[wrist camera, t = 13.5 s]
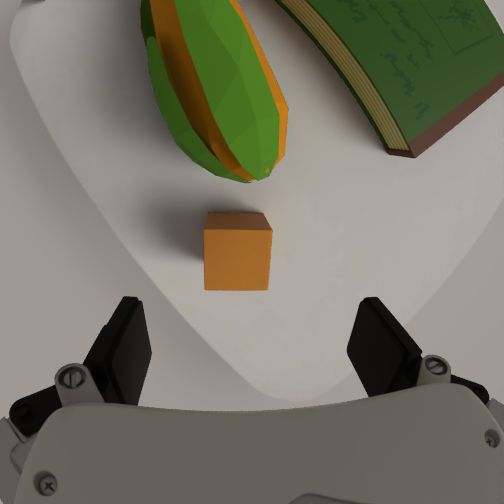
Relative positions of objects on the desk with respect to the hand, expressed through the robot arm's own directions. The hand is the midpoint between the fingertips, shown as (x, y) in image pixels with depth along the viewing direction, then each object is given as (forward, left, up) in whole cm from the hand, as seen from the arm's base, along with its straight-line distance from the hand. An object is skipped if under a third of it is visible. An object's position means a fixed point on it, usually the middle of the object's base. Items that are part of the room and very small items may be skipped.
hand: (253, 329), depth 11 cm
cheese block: (0, 0, -11) cm, 11 cm away
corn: (-3, +14, -12) cm, 19 cm away
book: (+16, +23, -12) cm, 30 cm away
